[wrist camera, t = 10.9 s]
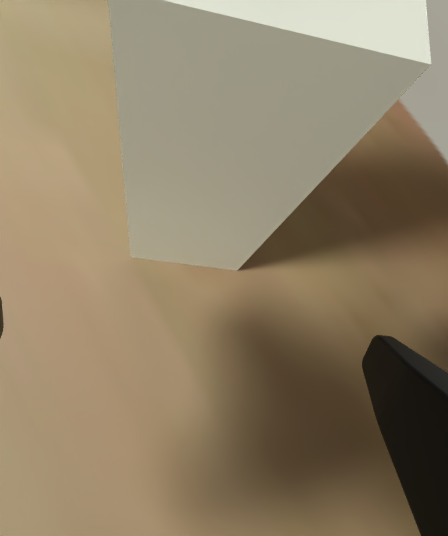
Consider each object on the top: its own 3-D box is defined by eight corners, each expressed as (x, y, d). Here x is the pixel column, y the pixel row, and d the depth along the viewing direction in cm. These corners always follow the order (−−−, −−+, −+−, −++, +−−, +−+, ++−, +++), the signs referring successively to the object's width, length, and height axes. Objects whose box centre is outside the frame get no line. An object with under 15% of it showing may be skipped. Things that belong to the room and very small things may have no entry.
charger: (242, 186, 18) (494, -275, 5) (237, 270, 17) (537, -49, 4) (143, 170, 17) (150, -419, 4) (130, 257, 16) (91, -190, 3)
